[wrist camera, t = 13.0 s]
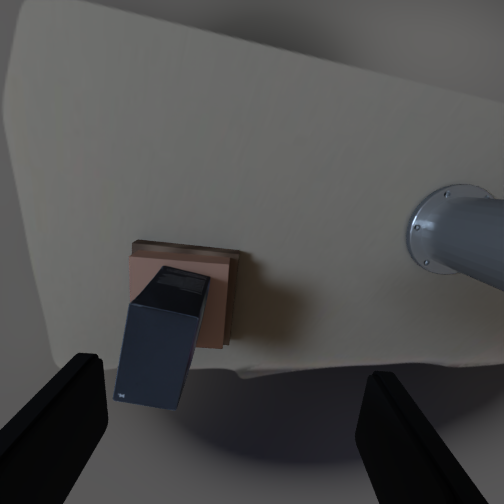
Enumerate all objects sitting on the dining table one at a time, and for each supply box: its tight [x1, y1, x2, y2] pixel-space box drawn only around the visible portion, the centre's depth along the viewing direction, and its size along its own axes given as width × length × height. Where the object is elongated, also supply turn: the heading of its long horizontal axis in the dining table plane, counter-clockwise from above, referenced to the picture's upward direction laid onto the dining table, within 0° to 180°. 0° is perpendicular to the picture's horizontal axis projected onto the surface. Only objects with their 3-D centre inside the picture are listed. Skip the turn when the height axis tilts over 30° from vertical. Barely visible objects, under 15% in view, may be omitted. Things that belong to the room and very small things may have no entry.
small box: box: [113, 266, 211, 411], centre depth 29 cm, size 11×6×10 cm, turn 165°
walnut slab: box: [132, 240, 239, 345], centre depth 38 cm, size 14×14×3 cm
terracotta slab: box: [129, 250, 230, 349], centre depth 35 cm, size 12×12×3 cm
